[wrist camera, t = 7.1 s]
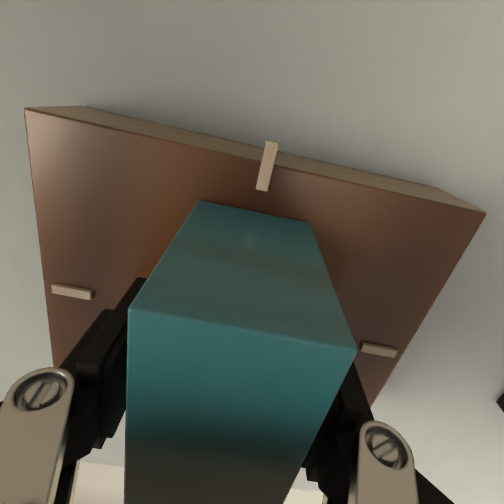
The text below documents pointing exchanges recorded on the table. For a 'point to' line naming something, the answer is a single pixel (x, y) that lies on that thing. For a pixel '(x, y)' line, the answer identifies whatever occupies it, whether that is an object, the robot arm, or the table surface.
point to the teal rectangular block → (231, 361)
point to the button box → (501, 402)
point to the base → (239, 196)
